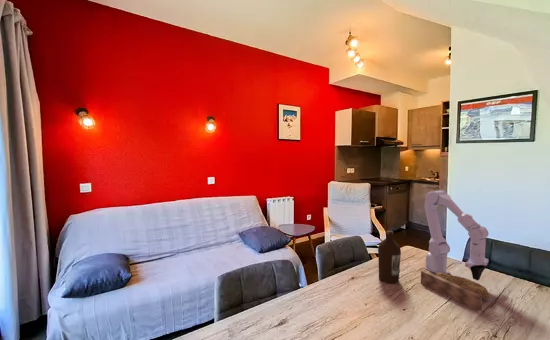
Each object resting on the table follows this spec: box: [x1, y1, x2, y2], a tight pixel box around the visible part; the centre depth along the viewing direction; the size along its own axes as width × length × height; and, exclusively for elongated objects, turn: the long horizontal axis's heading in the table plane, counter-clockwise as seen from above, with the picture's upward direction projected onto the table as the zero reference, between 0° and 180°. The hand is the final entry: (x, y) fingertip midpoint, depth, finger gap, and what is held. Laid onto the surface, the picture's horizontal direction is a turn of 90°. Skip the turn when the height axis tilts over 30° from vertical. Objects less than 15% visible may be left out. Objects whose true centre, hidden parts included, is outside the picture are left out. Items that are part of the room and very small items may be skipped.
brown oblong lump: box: [435, 272, 490, 299], centre depth 123 cm, size 13×8×20 cm
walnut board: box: [420, 269, 483, 312], centre depth 120 cm, size 26×2×6 cm, turn 23°
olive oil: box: [377, 230, 402, 285], centre depth 135 cm, size 11×11×25 cm
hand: (476, 279), depth 128 cm, fingers closed
